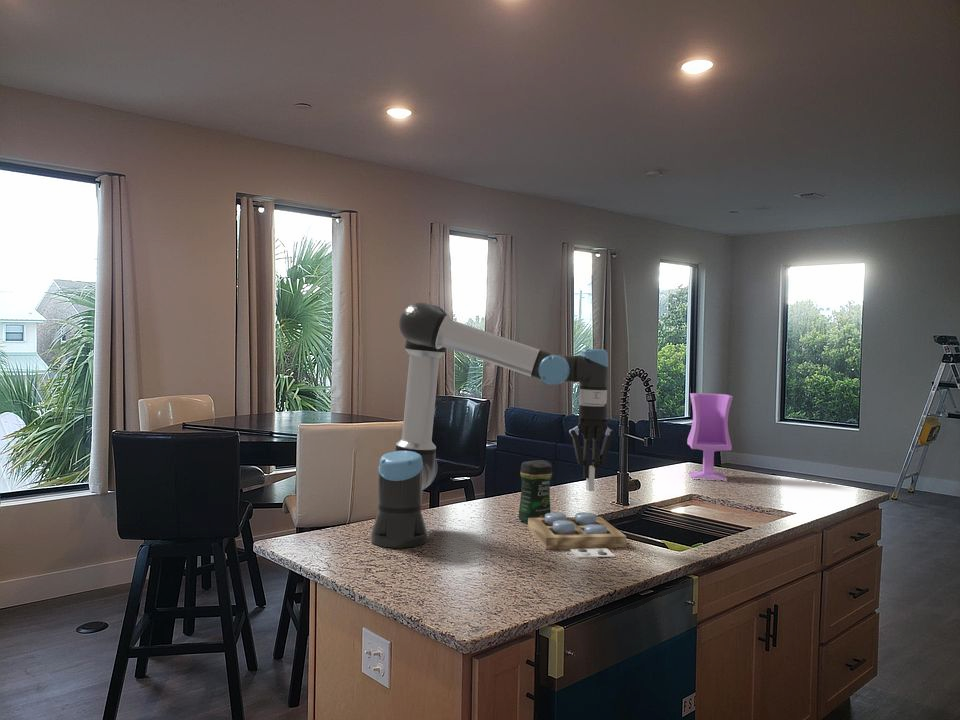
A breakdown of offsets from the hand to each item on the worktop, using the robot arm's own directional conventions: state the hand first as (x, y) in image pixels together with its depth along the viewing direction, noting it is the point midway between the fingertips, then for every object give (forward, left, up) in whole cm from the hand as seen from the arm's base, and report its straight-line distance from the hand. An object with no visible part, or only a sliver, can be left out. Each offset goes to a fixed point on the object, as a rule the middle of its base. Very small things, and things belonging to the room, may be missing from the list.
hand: (590, 489), depth 198 cm
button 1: (-8, +8, -11) cm, 16 cm away
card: (-3, -13, -14) cm, 19 cm away
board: (-3, +3, -14) cm, 15 cm away
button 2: (-8, -1, -11) cm, 14 cm away
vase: (+81, +91, -14) cm, 122 cm away
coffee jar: (-10, +22, -14) cm, 28 cm away
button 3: (+1, +8, -11) cm, 14 cm away
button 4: (+1, -1, -13) cm, 13 cm away
